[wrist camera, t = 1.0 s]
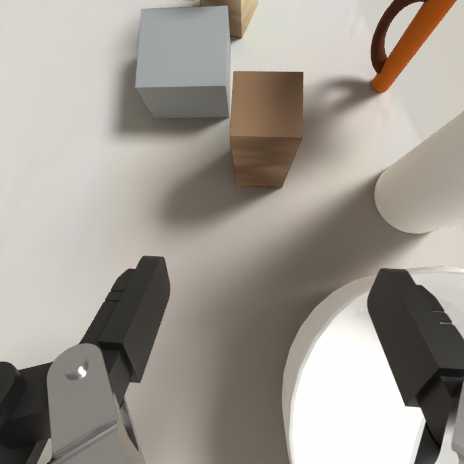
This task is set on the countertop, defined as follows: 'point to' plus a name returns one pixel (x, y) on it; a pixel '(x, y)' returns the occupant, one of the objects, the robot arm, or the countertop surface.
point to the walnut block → (265, 126)
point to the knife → (403, 39)
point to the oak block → (235, 13)
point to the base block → (184, 62)
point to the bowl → (354, 379)
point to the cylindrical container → (426, 184)
